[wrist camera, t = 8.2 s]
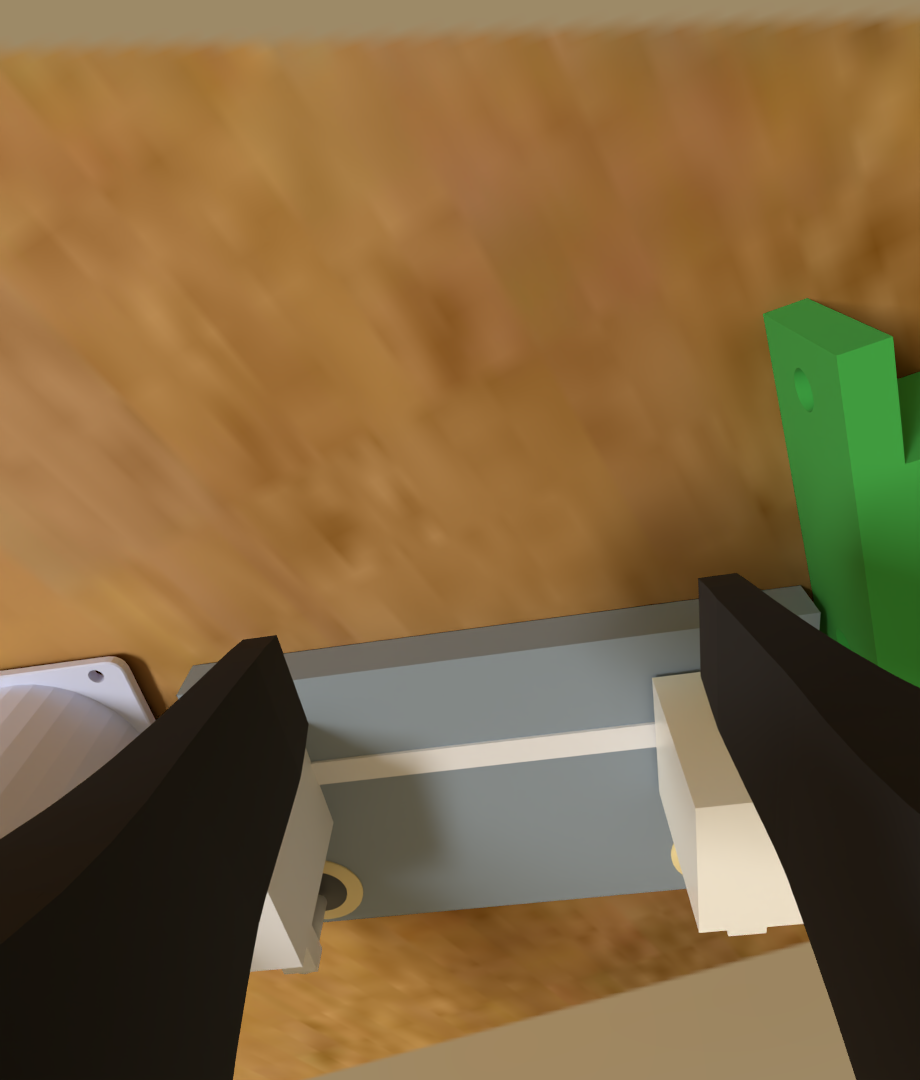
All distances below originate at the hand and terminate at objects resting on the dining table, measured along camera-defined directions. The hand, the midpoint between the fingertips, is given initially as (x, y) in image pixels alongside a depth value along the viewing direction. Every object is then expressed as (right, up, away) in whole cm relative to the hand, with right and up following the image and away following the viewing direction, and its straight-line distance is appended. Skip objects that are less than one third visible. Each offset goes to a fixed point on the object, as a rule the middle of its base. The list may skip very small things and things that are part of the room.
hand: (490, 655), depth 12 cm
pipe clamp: (+11, +4, +9) cm, 15 cm away
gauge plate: (+1, -6, +14) cm, 15 cm away
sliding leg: (+8, -6, +12) cm, 15 cm away
